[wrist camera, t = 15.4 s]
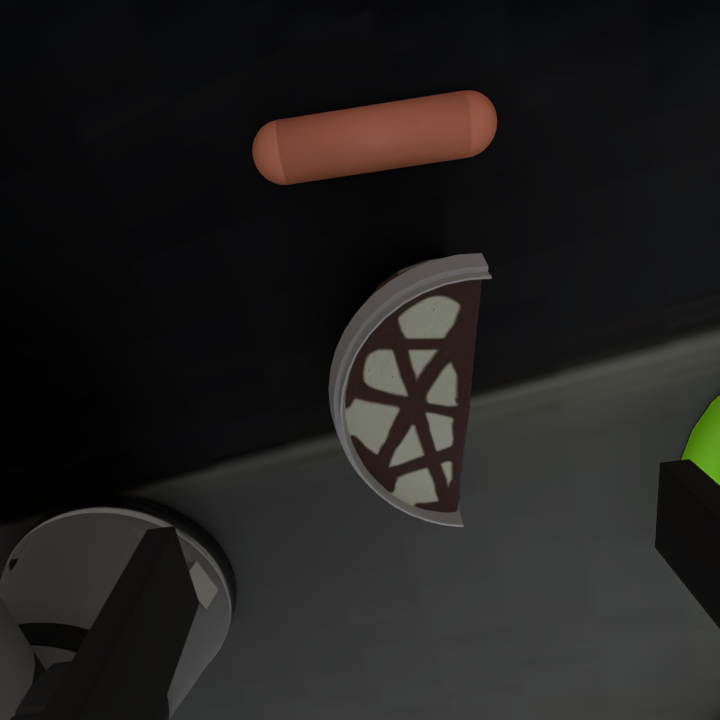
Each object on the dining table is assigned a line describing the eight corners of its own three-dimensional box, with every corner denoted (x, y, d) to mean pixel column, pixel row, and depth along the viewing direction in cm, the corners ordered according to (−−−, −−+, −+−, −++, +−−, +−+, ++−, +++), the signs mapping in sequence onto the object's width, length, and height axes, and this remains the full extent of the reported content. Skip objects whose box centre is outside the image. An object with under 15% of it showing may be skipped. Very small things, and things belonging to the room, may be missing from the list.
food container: (338, 227, 29) (325, 257, 19) (450, 230, 29) (493, 261, 19) (335, 428, 33) (325, 533, 24) (433, 431, 33) (462, 536, 24)
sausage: (265, 187, 28) (254, 190, 25) (253, 126, 27) (240, 122, 24) (490, 153, 27) (505, 152, 24) (487, 90, 26) (502, 80, 23)
